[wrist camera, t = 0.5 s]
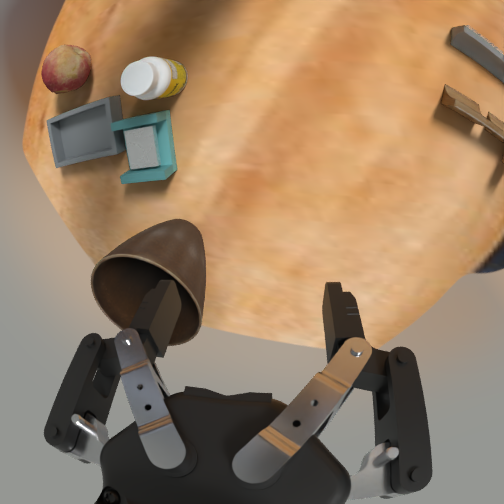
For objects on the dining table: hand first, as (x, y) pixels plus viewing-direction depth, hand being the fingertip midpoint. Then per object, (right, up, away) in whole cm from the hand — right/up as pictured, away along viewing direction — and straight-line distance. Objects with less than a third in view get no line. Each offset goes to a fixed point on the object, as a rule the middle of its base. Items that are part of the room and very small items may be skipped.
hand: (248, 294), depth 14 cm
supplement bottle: (-11, +25, +16) cm, 32 cm away
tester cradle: (-14, +18, +21) cm, 31 cm away
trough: (-25, +21, +20) cm, 38 cm away
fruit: (-26, +31, +14) cm, 42 cm away
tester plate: (-14, +16, +19) cm, 29 cm away
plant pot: (-11, +5, +30) cm, 32 cm away
